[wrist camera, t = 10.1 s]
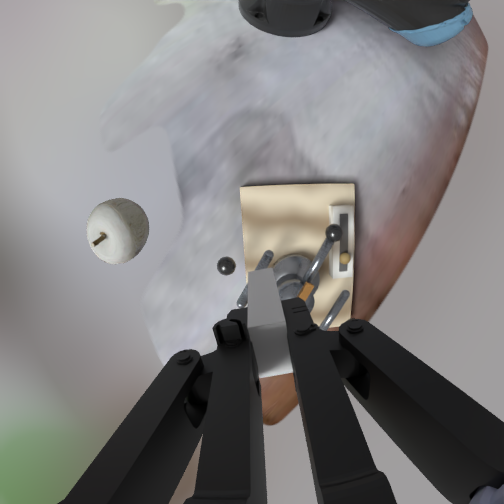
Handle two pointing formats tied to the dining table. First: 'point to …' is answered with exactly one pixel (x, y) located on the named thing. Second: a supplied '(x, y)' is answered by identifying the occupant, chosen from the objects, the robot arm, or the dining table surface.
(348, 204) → the stand
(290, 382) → the dining table surface
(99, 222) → the decorative object
